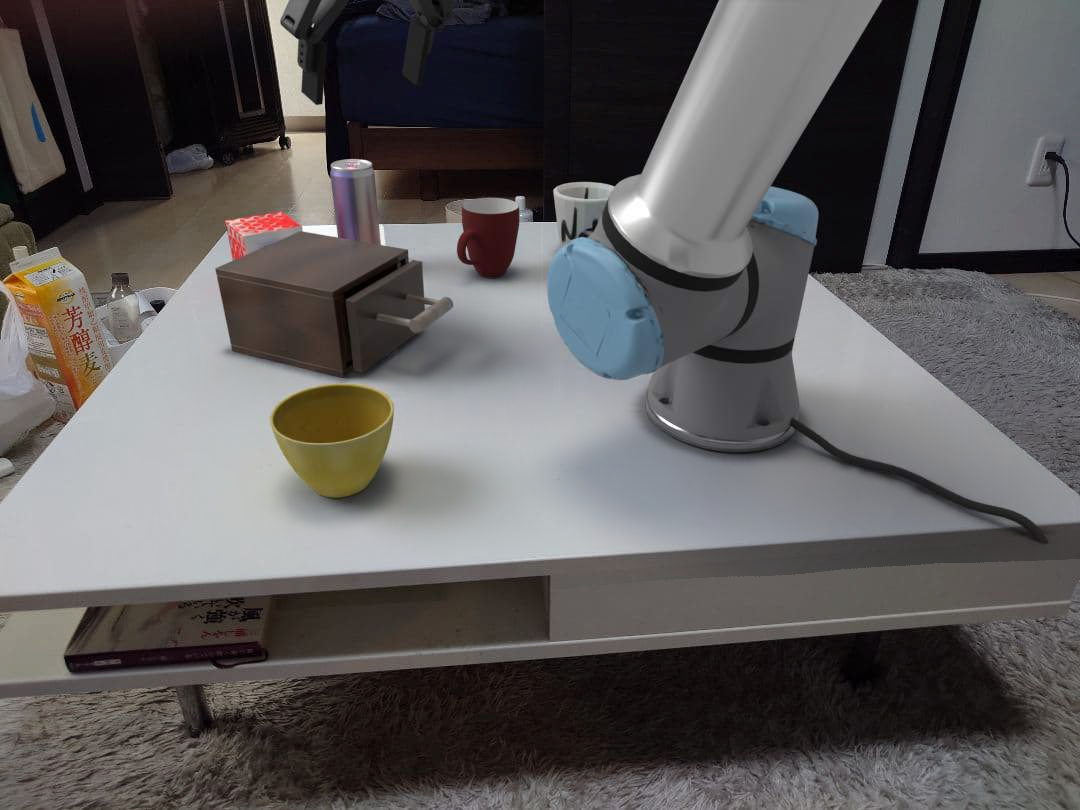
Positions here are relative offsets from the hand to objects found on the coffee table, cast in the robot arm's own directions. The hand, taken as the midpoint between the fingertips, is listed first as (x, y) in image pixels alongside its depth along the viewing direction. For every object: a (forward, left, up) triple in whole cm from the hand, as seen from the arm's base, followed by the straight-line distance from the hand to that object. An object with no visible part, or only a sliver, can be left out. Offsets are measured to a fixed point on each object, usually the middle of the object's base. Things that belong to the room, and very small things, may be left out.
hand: (364, 88), depth 86 cm
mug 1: (-6, -18, -27) cm, 33 cm away
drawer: (-3, +9, -26) cm, 28 cm away
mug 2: (-15, -35, -27) cm, 47 cm away
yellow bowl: (-17, +32, -27) cm, 45 cm away
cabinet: (+2, +9, -27) cm, 29 cm away
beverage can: (+12, -13, -27) cm, 33 cm away
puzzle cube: (+21, -4, -27) cm, 35 cm away
